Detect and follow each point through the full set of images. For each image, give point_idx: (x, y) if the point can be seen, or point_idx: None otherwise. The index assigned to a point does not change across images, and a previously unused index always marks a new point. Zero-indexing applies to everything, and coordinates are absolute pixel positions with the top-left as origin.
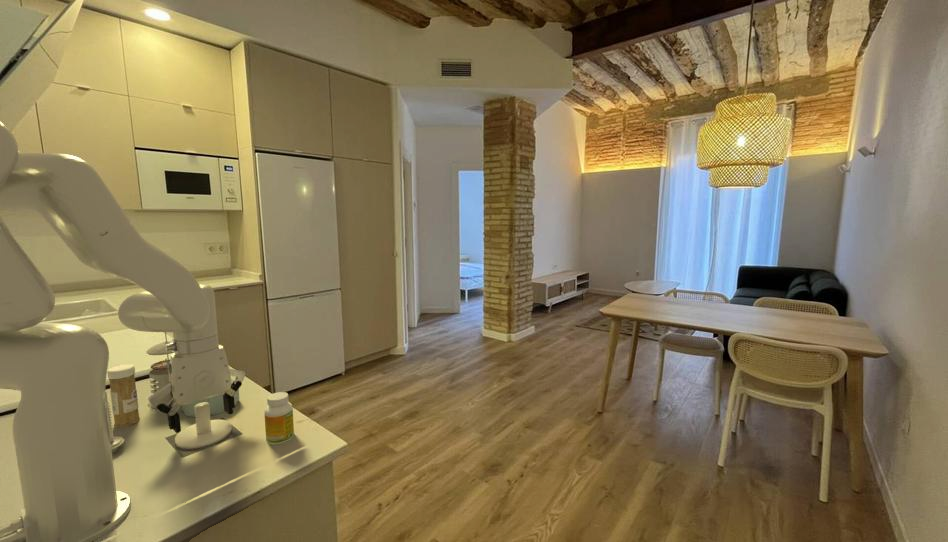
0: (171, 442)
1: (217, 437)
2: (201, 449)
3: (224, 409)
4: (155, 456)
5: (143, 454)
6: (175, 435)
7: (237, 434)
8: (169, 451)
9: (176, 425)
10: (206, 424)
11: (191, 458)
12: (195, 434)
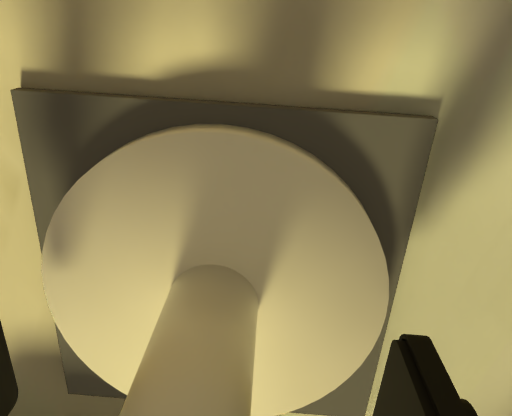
0: (372, 351)
1: (179, 136)
2: (307, 115)
3: (10, 401)
4: (487, 288)
5: (503, 354)
6: (322, 401)
7: (46, 113)
8: (417, 280)
9: (457, 396)
10: (194, 310)
11: (393, 73)
12: (268, 305)
